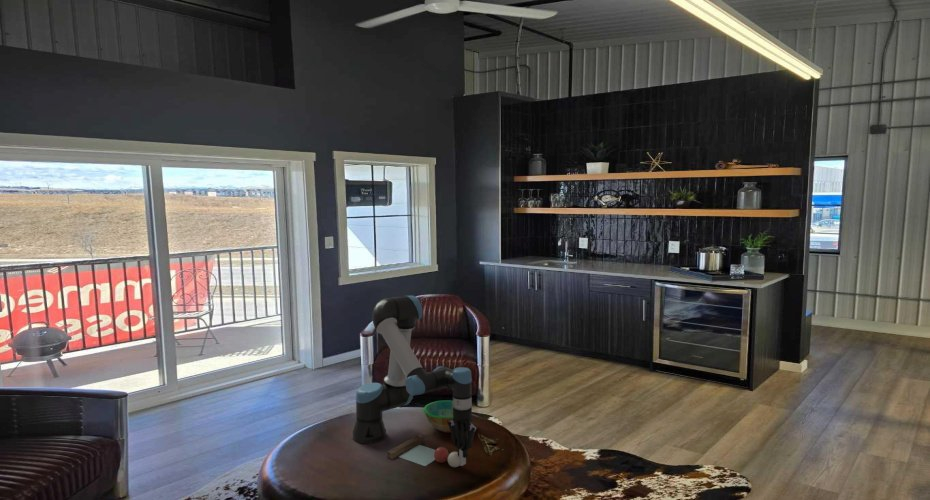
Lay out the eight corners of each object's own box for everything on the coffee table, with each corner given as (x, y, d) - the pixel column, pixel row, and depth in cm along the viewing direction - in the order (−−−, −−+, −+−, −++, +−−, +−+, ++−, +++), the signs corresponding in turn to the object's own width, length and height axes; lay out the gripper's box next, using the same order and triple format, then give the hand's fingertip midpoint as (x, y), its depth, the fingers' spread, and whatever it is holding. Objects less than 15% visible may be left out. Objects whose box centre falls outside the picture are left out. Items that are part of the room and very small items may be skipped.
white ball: (450, 472, 226) (442, 459, 228) (458, 466, 231) (450, 453, 233) (459, 465, 223) (450, 452, 225) (467, 459, 228) (459, 446, 230)
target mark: (398, 457, 236) (398, 456, 236) (419, 445, 248) (419, 444, 248) (425, 466, 228) (425, 465, 228) (445, 453, 240) (445, 453, 240)
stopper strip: (387, 457, 235) (387, 451, 235) (417, 440, 252) (417, 435, 252) (391, 459, 234) (391, 453, 234) (421, 442, 251) (421, 436, 250)
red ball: (431, 462, 232) (431, 448, 231) (439, 457, 237) (439, 443, 236) (442, 466, 228) (443, 452, 228) (451, 460, 233) (451, 447, 233)
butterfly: (508, 455, 240) (487, 453, 236) (505, 463, 240) (484, 460, 237) (495, 431, 256) (475, 428, 253) (492, 437, 257) (472, 435, 254)
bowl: (459, 417, 280) (459, 397, 279) (478, 434, 259) (479, 413, 258) (416, 423, 271) (416, 403, 270) (433, 442, 250) (433, 420, 249)
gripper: (443, 406, 225) (444, 464, 227) (470, 413, 218) (471, 472, 220) (454, 401, 231) (454, 457, 233) (481, 407, 224) (481, 464, 226)
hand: (462, 464), depth 226 cm, fingers closed
